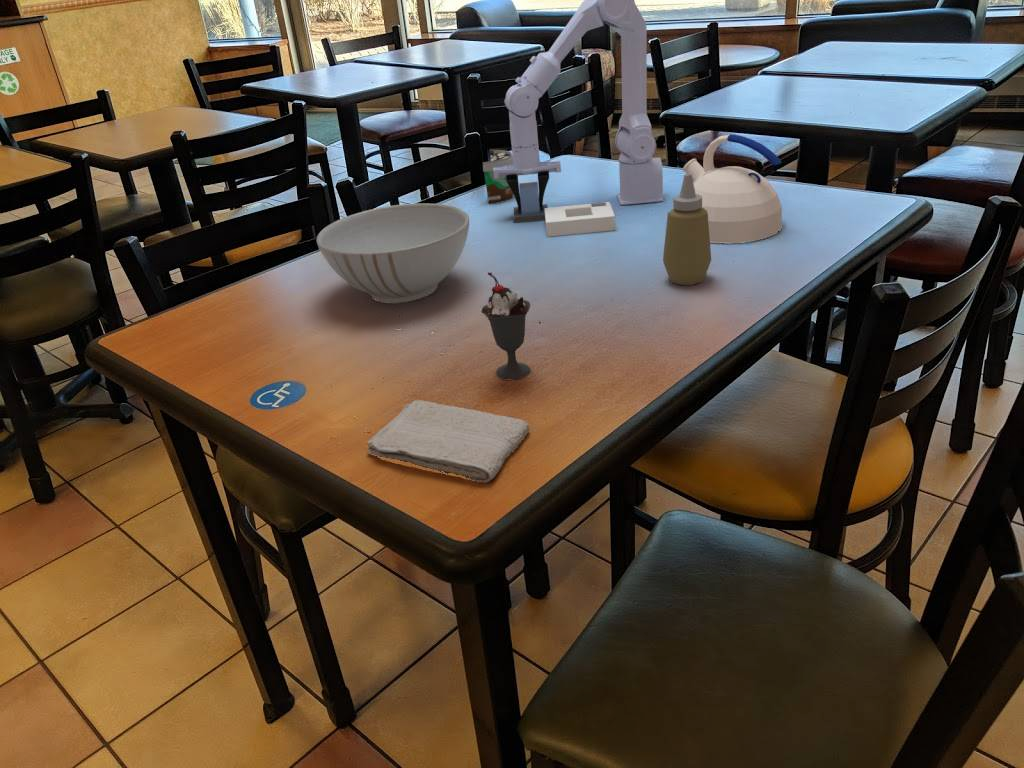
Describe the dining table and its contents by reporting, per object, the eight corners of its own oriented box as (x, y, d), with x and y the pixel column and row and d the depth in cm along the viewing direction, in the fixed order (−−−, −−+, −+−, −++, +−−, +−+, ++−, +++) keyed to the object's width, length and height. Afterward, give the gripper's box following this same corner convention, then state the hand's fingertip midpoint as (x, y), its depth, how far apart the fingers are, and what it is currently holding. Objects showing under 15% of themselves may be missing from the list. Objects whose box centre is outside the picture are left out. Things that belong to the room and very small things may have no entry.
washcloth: (412, 413, 105) (408, 393, 104) (534, 433, 98) (532, 412, 96) (362, 462, 96) (357, 441, 95) (492, 489, 89) (489, 466, 87)
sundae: (488, 364, 114) (475, 267, 107) (533, 358, 115) (524, 261, 107) (491, 386, 109) (478, 285, 101) (539, 379, 109) (529, 279, 101)
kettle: (711, 205, 168) (714, 119, 160) (802, 220, 155) (810, 126, 146) (654, 233, 157) (654, 141, 148) (747, 252, 143) (752, 152, 134)
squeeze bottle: (713, 271, 136) (716, 167, 128) (707, 289, 130) (710, 182, 121) (666, 269, 139) (666, 168, 130) (659, 287, 133) (658, 182, 124)
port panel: (610, 215, 169) (609, 201, 167) (615, 230, 160) (614, 215, 159) (545, 221, 170) (544, 207, 168) (547, 236, 161) (545, 221, 159)
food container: (512, 204, 183) (508, 161, 178) (487, 205, 185) (482, 162, 180) (522, 189, 194) (518, 148, 189) (498, 190, 195) (493, 149, 190)
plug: (539, 212, 176) (537, 181, 172) (540, 218, 172) (537, 186, 169) (522, 214, 176) (519, 183, 173) (522, 219, 172) (519, 188, 169)
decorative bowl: (356, 335, 128) (341, 266, 122) (314, 287, 149) (299, 225, 143) (502, 293, 137) (494, 226, 131) (442, 253, 159) (433, 194, 153)
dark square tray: (547, 209, 177) (547, 204, 177) (548, 219, 171) (548, 214, 170) (514, 212, 178) (513, 207, 177) (514, 222, 171) (513, 217, 170)
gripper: (490, 152, 163) (497, 215, 170) (559, 145, 163) (564, 209, 169) (491, 144, 170) (498, 206, 176) (558, 138, 169) (562, 200, 175)
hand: (530, 207), depth 173 cm, fingers closed on plug, 4 cm apart
